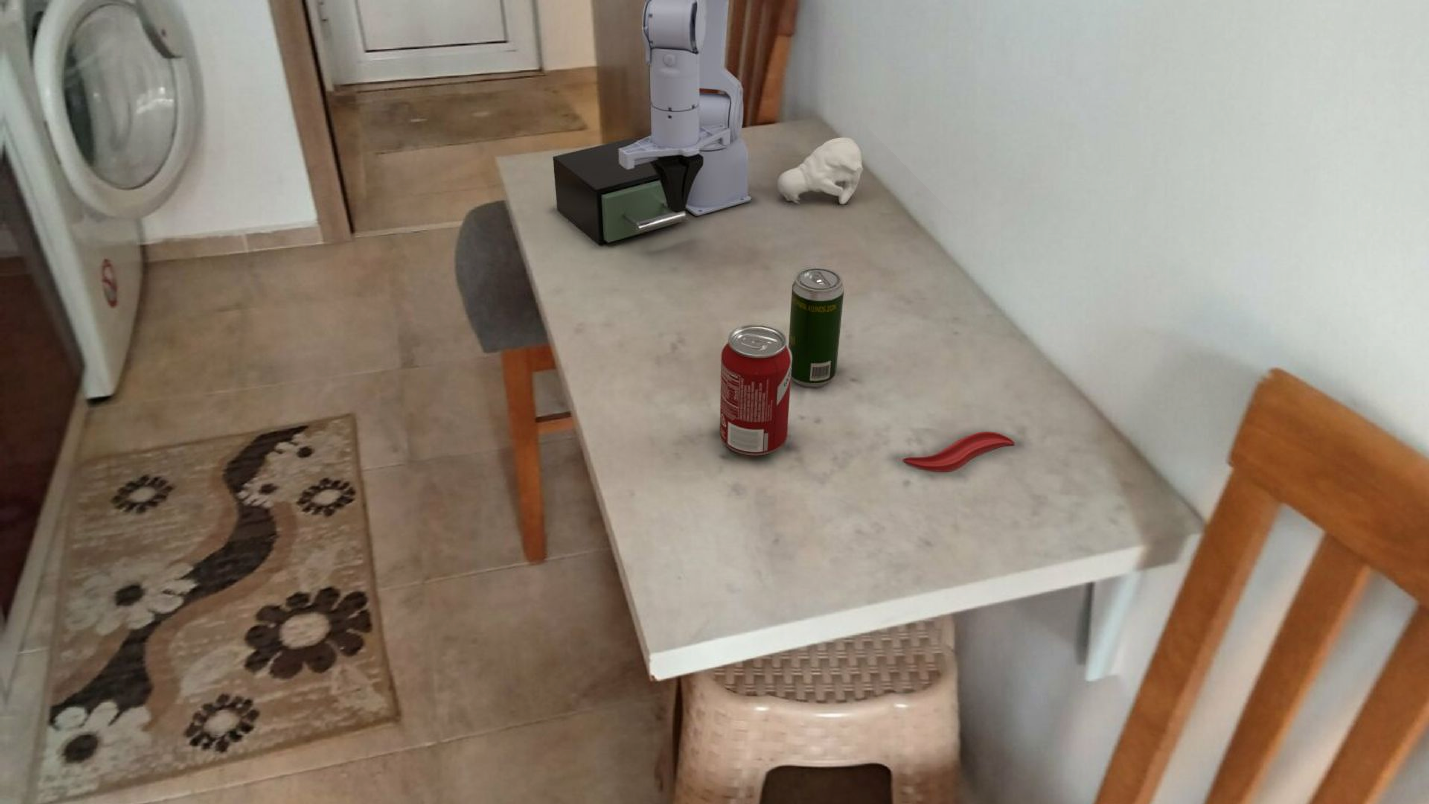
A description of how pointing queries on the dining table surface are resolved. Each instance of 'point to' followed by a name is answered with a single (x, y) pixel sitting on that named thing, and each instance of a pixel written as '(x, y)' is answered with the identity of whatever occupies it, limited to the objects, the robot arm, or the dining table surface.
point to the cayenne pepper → (960, 452)
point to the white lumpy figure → (825, 171)
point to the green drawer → (636, 211)
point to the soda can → (755, 390)
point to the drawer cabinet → (594, 184)
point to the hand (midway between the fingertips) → (676, 209)
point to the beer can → (815, 326)
